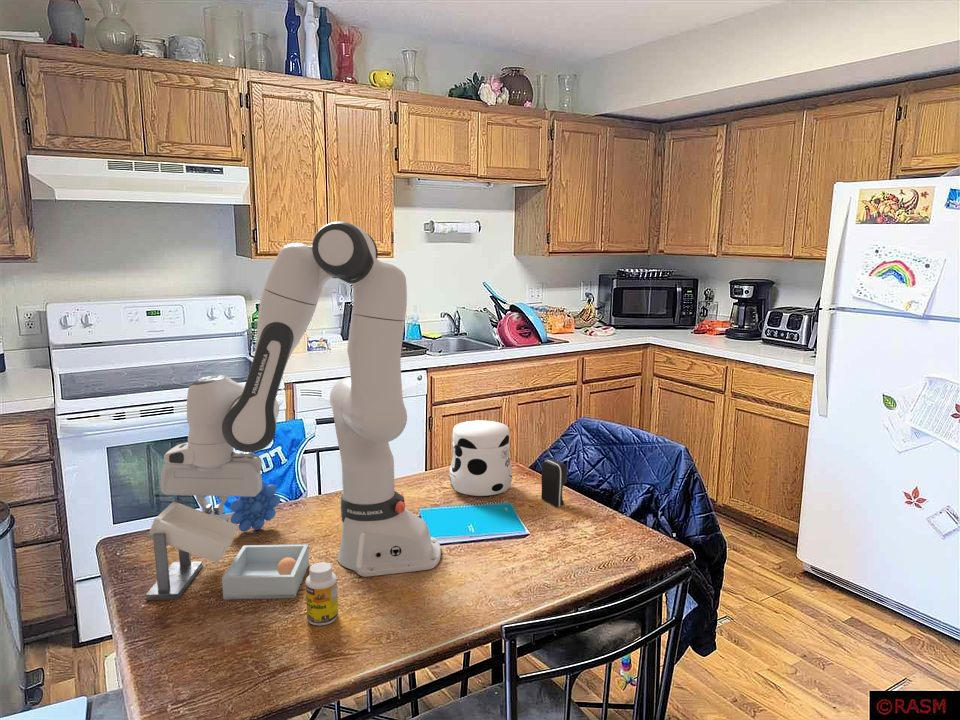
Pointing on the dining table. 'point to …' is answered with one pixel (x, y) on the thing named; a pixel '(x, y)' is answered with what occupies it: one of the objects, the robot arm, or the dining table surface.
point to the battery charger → (553, 481)
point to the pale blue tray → (265, 572)
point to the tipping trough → (195, 531)
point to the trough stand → (171, 572)
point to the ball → (286, 566)
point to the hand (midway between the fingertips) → (213, 513)
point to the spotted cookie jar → (480, 459)
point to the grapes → (255, 508)
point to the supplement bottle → (321, 594)
